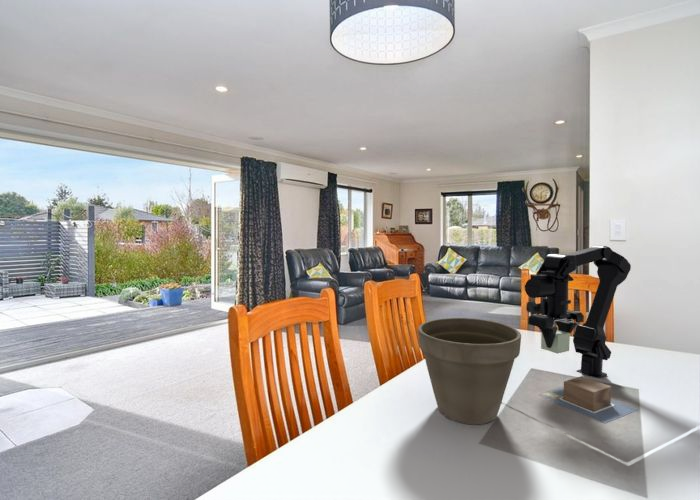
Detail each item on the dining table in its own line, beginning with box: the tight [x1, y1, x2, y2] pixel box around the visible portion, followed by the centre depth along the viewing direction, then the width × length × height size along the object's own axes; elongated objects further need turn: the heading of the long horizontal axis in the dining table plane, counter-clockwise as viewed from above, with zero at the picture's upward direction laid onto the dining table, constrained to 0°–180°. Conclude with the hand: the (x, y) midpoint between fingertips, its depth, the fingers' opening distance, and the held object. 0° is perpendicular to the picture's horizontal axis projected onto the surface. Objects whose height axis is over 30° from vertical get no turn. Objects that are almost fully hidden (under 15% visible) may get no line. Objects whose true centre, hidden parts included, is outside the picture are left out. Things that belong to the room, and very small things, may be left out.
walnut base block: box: [563, 376, 612, 411], centre depth 106 cm, size 8×8×5 cm
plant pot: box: [417, 317, 522, 425], centre depth 101 cm, size 25×25×22 cm
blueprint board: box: [538, 386, 639, 424], centre depth 107 cm, size 15×18×1 cm
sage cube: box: [540, 329, 571, 354], centre depth 121 cm, size 6×6×6 cm
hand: (555, 346), depth 121 cm, fingers closed on sage cube, 5 cm apart
